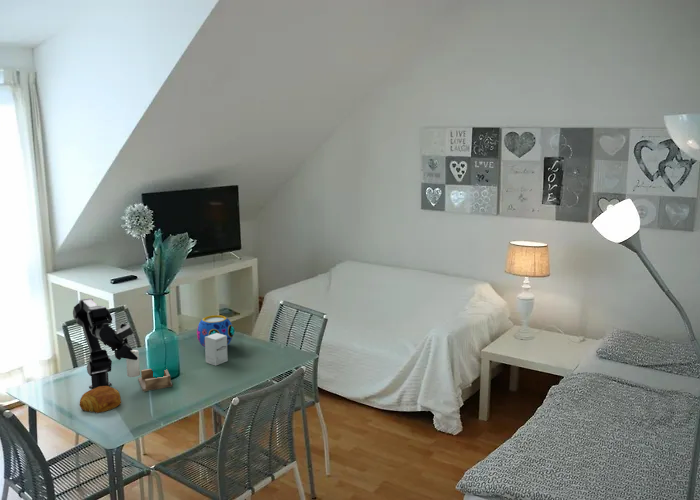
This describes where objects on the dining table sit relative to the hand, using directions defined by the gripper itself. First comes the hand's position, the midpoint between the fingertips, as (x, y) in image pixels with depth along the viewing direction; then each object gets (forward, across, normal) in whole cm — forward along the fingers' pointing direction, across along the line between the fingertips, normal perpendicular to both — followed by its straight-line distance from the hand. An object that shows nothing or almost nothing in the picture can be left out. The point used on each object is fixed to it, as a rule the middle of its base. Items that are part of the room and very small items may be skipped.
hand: (136, 356), depth 263 cm
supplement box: (+35, +13, -16) cm, 41 cm away
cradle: (+14, 0, +4) cm, 15 cm away
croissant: (-1, -13, +20) cm, 24 cm away
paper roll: (+4, 0, +6) cm, 8 cm away
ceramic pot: (+38, +32, -19) cm, 53 cm away
